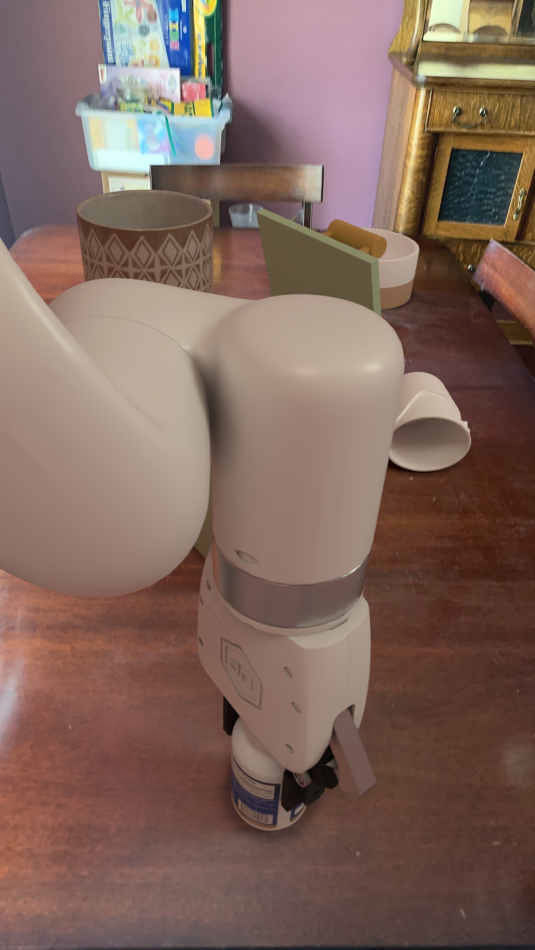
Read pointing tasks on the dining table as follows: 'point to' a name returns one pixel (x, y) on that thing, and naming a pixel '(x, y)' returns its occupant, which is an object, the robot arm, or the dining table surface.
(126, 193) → the planter
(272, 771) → the pill bottle
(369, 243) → the lid
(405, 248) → the bowl
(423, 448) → the mug
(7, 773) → the dining table surface
